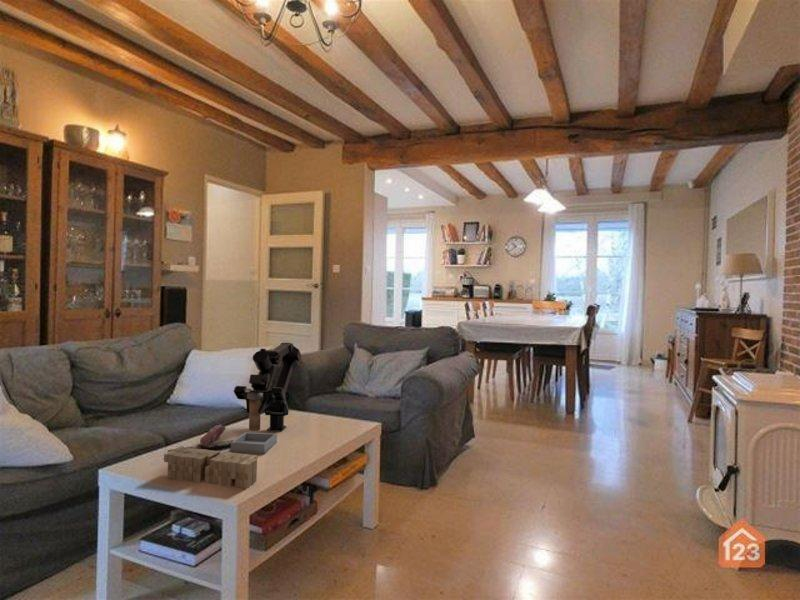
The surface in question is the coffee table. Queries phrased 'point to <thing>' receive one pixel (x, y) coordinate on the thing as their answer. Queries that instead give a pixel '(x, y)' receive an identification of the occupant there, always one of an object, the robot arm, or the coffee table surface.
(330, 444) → the coffee table surface
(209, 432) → the pink toy car
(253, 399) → the pin
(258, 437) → the tray
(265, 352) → the robot arm
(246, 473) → the block tower
